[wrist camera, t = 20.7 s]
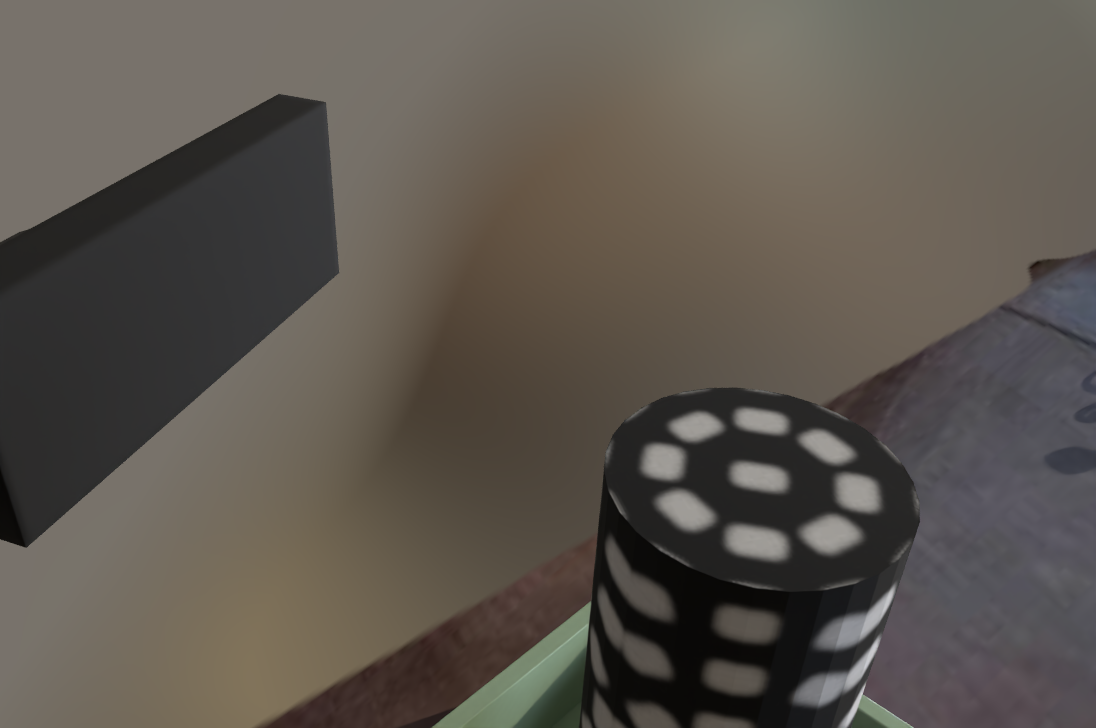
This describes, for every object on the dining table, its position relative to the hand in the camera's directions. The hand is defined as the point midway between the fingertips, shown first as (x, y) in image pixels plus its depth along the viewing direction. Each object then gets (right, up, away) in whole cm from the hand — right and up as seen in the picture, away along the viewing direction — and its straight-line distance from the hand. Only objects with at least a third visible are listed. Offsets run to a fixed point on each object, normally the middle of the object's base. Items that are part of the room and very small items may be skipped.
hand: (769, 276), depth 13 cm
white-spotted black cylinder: (+2, -21, +25) cm, 33 cm away
